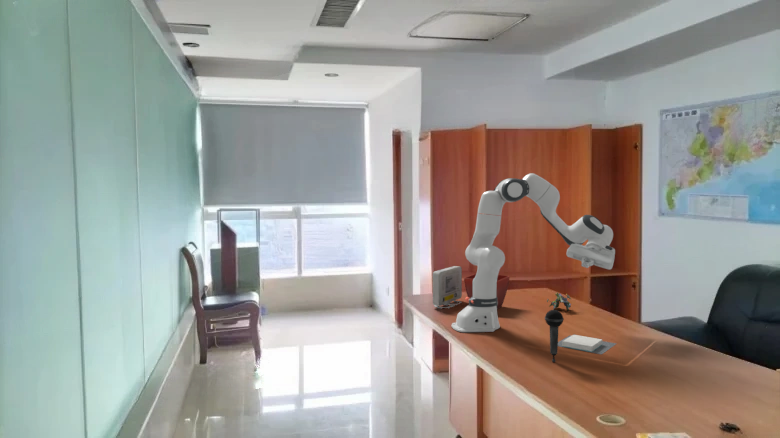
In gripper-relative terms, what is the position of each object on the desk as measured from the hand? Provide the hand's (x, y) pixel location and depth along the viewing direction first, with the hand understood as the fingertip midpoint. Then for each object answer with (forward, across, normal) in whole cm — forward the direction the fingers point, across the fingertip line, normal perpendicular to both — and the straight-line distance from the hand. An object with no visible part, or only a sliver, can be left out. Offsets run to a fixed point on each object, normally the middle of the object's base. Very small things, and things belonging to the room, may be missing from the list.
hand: (584, 266), depth 243 cm
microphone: (+51, +7, +8) cm, 52 cm away
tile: (+23, +11, +19) cm, 32 cm away
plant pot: (-5, -48, +52) cm, 71 cm away
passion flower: (-21, -14, +50) cm, 56 cm away
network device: (+1, -69, +55) cm, 88 cm away
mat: (+27, +12, +19) cm, 35 cm away
